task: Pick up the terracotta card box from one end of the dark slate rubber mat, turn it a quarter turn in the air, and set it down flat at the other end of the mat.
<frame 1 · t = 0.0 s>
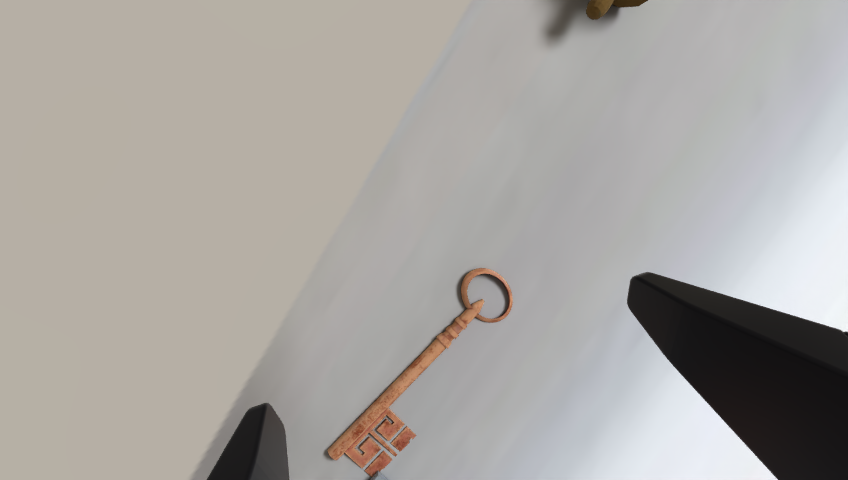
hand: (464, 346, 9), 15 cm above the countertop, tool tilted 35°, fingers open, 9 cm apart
key: (430, 370, 24), on the countertop
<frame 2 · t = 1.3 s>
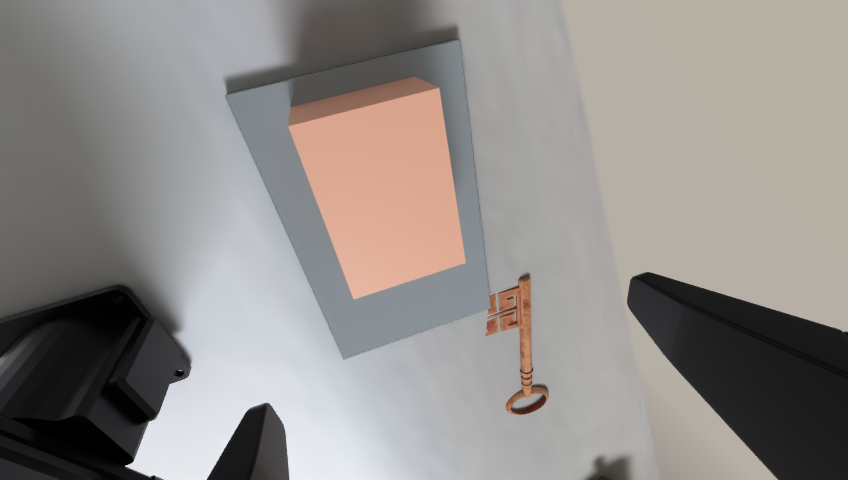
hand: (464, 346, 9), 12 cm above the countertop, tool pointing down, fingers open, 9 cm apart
mat: (389, 224, 20), on the countertop
key: (511, 352, 29), on the countertop
card box: (377, 176, 18), resting on mat
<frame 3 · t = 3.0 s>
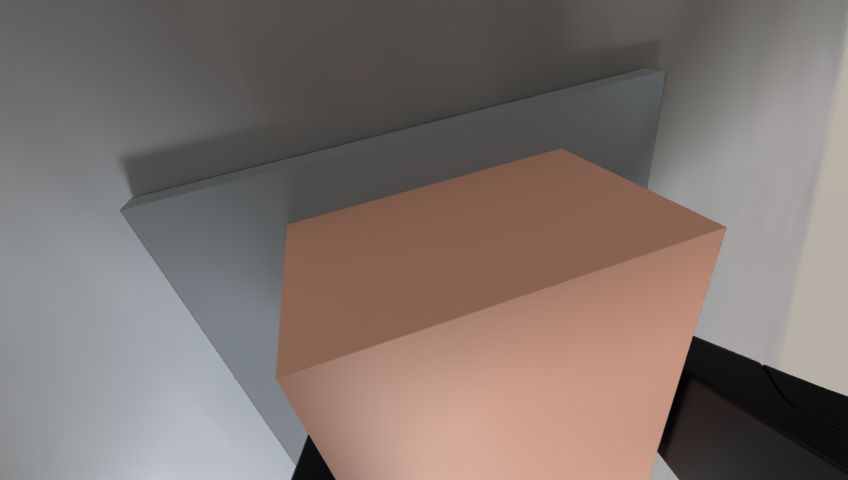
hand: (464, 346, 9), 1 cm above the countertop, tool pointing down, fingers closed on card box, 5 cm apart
mat: (463, 389, 11), on the countertop
card box: (457, 331, 9), resting on mat, touching gripper
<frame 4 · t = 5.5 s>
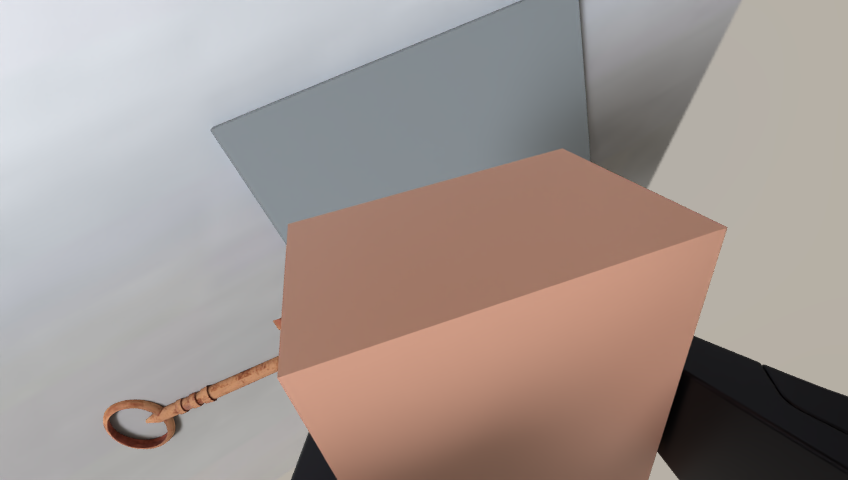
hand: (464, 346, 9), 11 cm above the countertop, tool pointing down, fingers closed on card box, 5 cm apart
mat: (433, 160, 18), on the countertop
key: (234, 360, 21), on the countertop
card box: (457, 331, 9), point 10 cm above the countertop, touching gripper
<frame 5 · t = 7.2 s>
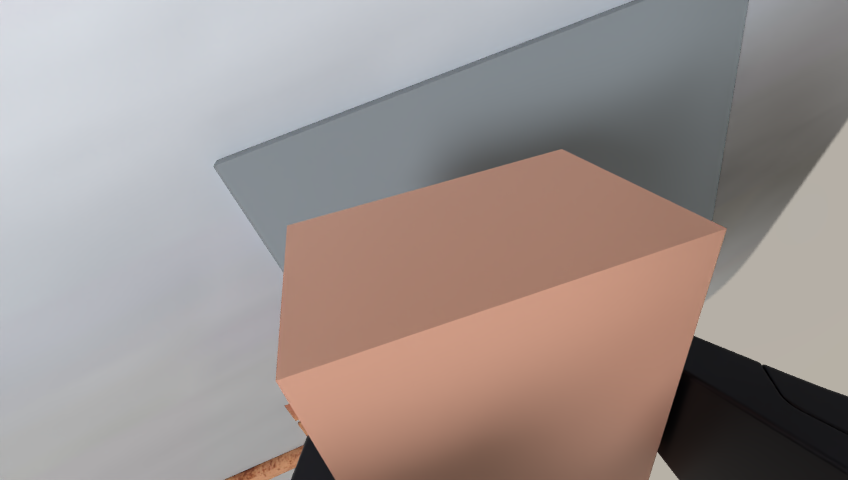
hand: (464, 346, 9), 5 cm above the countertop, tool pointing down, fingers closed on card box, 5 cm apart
mat: (519, 205, 13), on the countertop
key: (234, 455, 16), on the countertop
card box: (457, 332, 9), point 4 cm above the countertop, touching gripper
when the fingers open (2 cm above the countertop, at t = 8.5 s): card box drops 1 cm, resting on mat.
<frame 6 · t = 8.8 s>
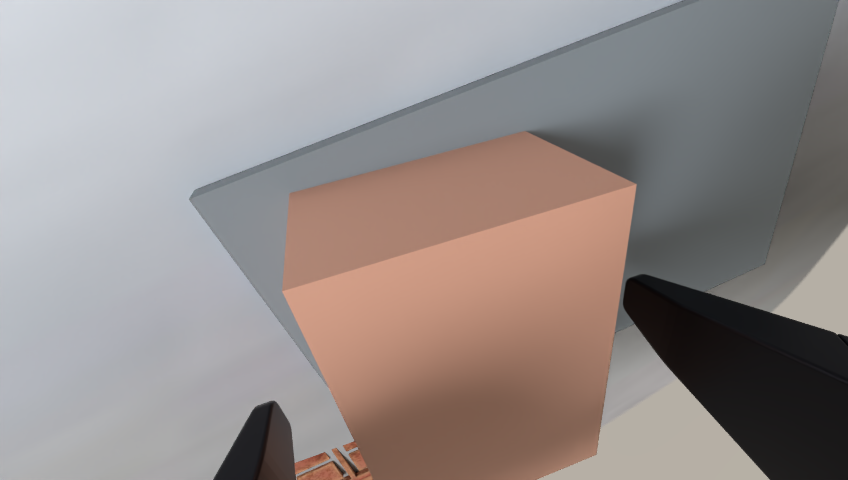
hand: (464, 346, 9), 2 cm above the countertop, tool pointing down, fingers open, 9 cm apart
mat: (556, 233, 11), on the countertop
card box: (438, 295, 10), resting on mat
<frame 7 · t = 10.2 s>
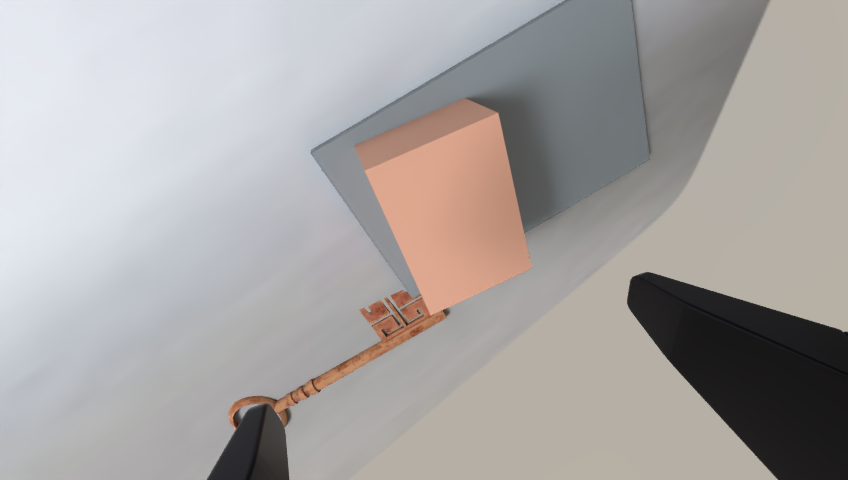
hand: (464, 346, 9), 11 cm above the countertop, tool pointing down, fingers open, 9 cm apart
mat: (499, 154, 20), on the countertop
key: (331, 355, 24), on the countertop
card box: (436, 196, 19), resting on mat
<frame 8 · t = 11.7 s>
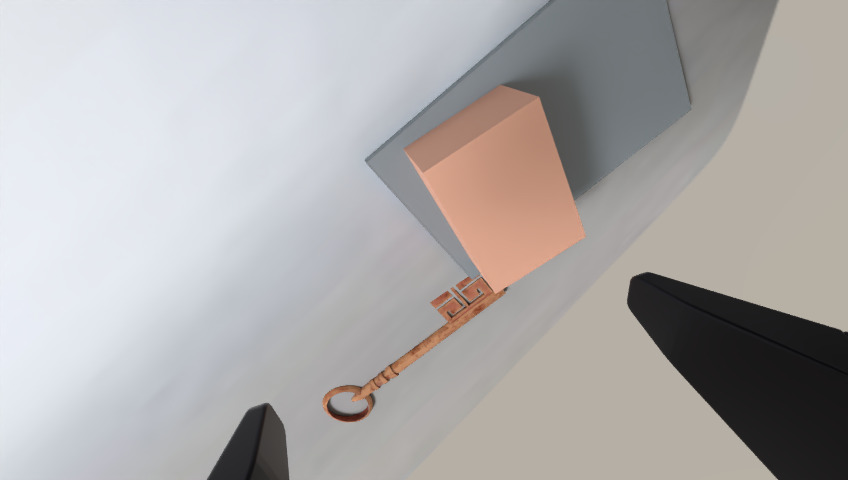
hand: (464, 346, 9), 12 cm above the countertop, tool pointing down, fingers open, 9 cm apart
mat: (538, 131, 20), on the countertop
key: (404, 340, 26), on the countertop
card box: (483, 181, 20), resting on mat
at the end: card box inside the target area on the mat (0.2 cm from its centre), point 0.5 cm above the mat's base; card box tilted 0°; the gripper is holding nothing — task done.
